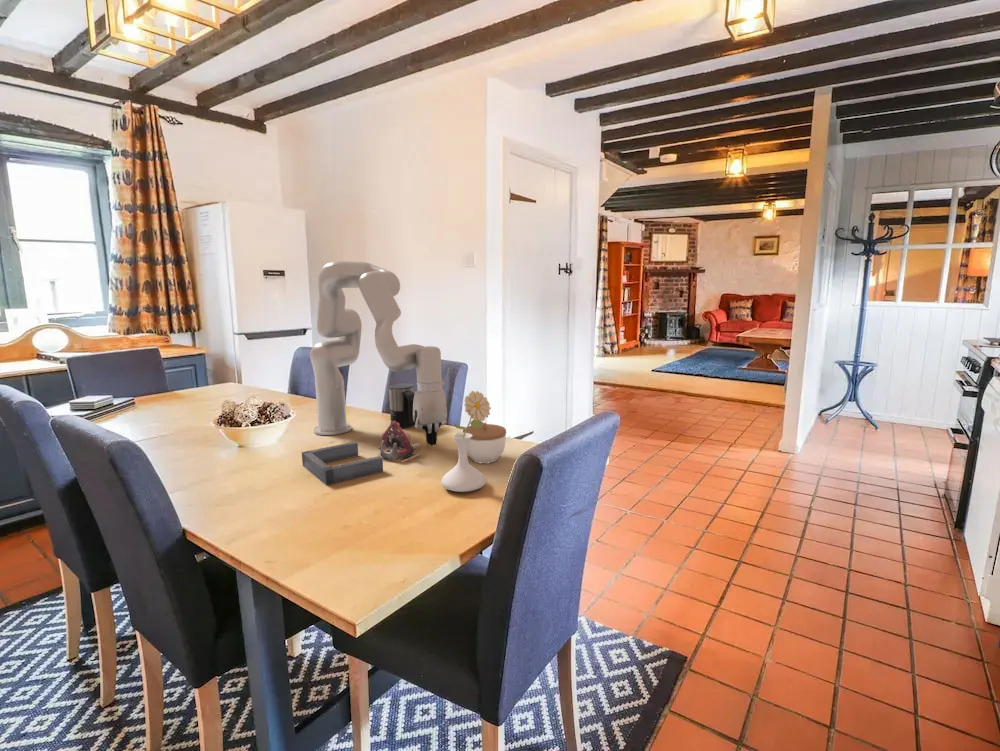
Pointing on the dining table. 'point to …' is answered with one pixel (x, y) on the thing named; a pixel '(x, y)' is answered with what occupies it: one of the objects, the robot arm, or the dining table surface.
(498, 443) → the lidded bowl
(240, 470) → the dining table surface
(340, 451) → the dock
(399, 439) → the brake caliper
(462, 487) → the flower in vase
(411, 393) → the milk frother
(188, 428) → the dining table surface
